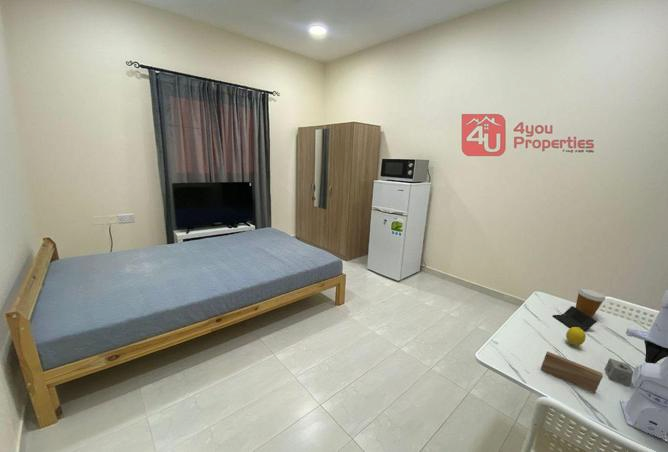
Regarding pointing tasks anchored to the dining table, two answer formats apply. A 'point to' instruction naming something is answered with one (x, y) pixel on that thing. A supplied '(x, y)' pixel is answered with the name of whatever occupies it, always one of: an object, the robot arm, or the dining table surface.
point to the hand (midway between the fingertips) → (648, 363)
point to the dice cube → (619, 372)
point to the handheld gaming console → (576, 319)
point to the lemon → (575, 336)
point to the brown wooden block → (571, 372)
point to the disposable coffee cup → (589, 300)
